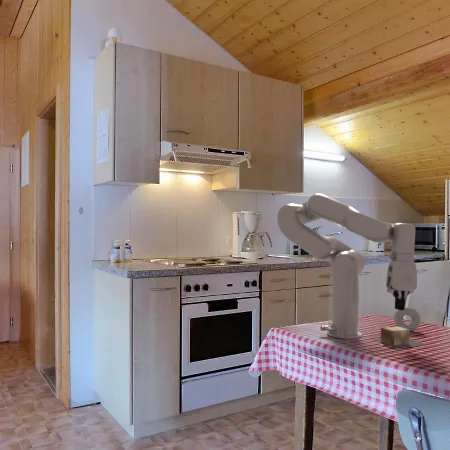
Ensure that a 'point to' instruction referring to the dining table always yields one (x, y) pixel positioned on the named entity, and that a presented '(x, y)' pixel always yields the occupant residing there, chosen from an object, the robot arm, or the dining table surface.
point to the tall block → (395, 335)
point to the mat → (411, 343)
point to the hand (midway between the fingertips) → (399, 309)
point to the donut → (412, 313)
